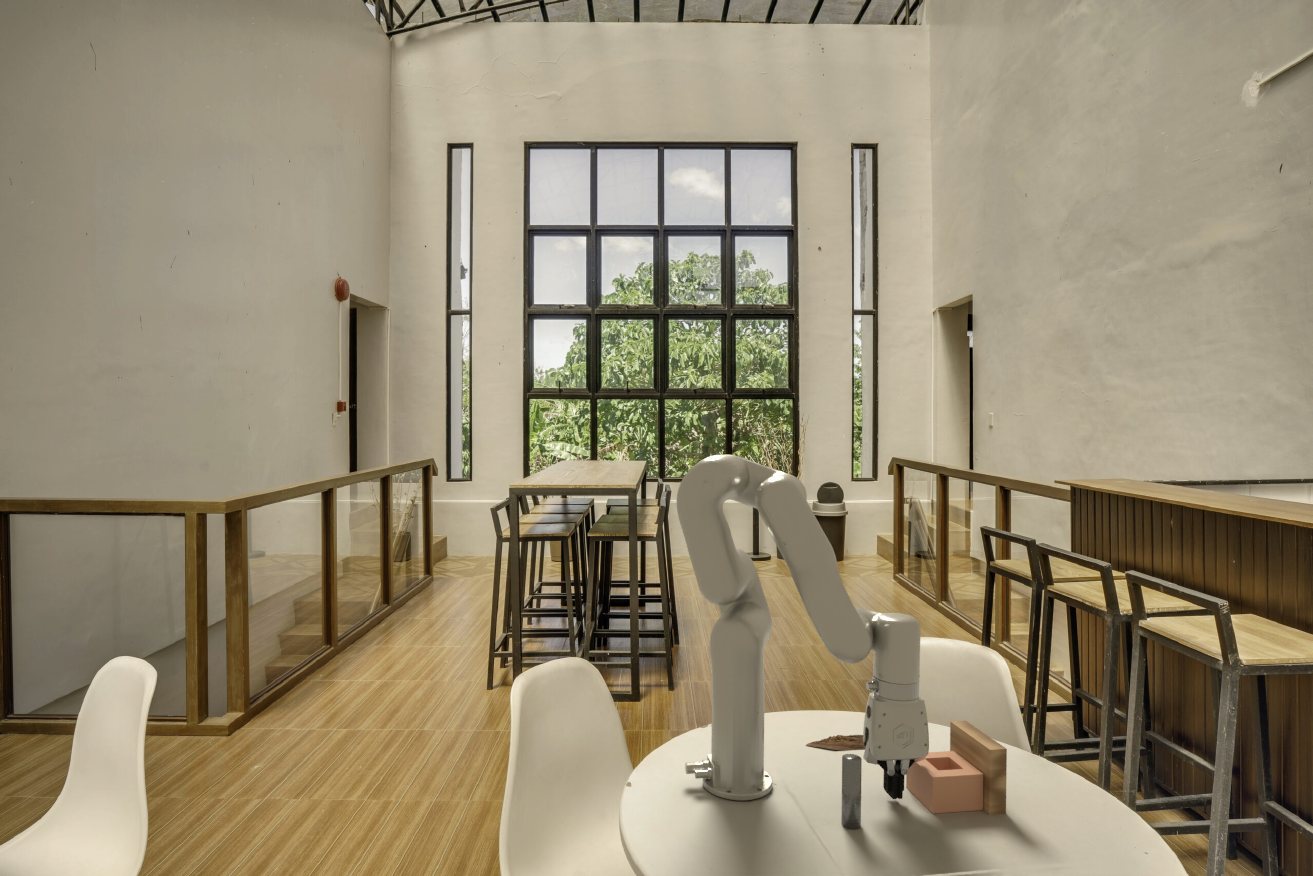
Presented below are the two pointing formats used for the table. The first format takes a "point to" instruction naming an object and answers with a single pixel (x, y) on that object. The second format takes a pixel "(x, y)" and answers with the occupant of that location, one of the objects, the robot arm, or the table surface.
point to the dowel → (851, 791)
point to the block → (946, 783)
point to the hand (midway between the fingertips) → (893, 795)
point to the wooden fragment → (840, 743)
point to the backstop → (983, 762)
